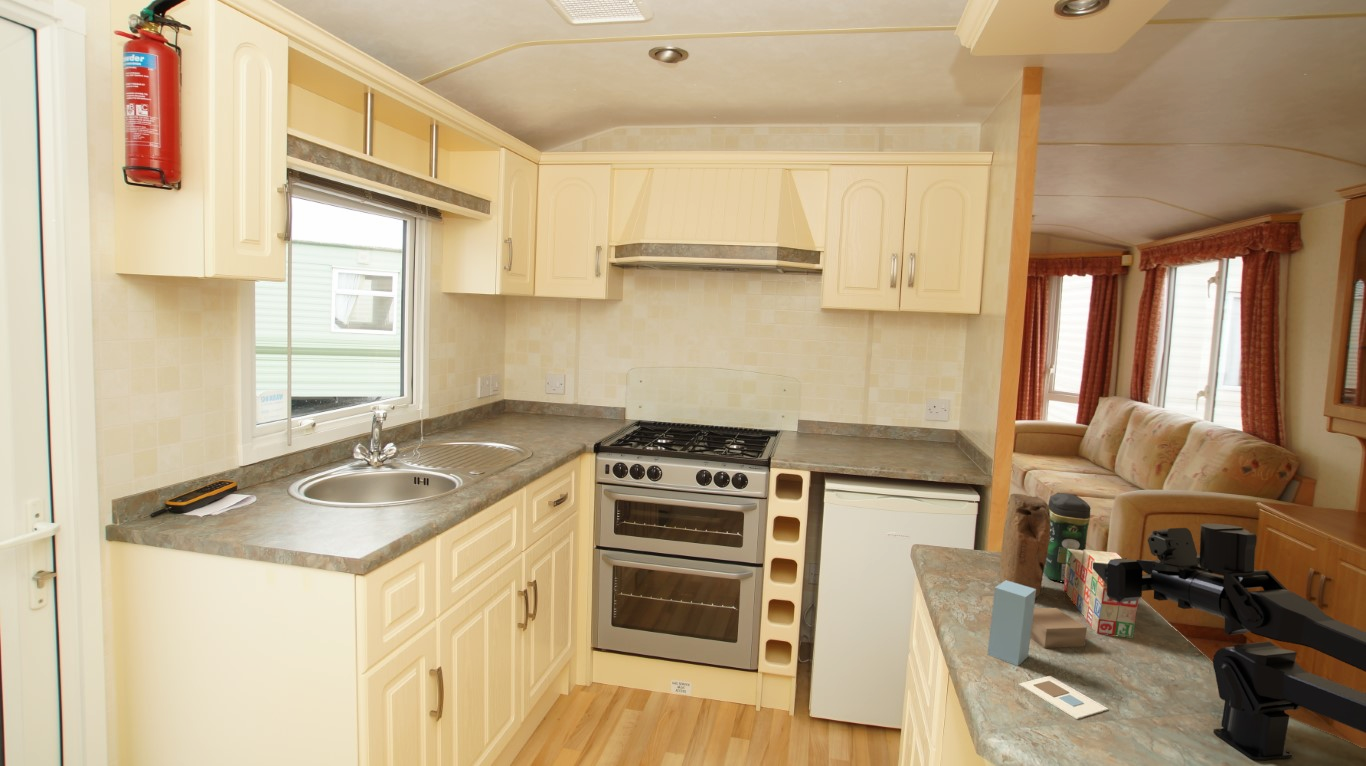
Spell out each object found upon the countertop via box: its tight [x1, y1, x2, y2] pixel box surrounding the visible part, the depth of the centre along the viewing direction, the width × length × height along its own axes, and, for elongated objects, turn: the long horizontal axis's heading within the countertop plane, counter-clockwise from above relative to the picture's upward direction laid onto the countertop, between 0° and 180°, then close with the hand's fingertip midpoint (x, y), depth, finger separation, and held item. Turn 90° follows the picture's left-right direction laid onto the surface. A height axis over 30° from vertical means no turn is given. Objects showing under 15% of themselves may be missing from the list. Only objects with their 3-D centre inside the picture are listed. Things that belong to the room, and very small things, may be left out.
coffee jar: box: [1043, 492, 1092, 583], centre depth 162 cm, size 10×8×19 cm
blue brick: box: [987, 580, 1036, 667], centre depth 124 cm, size 5×5×12 cm
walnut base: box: [1030, 607, 1088, 649], centre depth 133 cm, size 8×8×4 cm
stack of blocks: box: [1063, 549, 1140, 639], centre depth 144 cm, size 21×6×12 cm, turn 168°
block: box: [999, 493, 1051, 599], centre depth 153 cm, size 11×8×20 cm
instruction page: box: [1019, 675, 1109, 720], centre depth 112 cm, size 10×7×1 cm
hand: (1115, 564), depth 124 cm, fingers open, 9 cm apart
